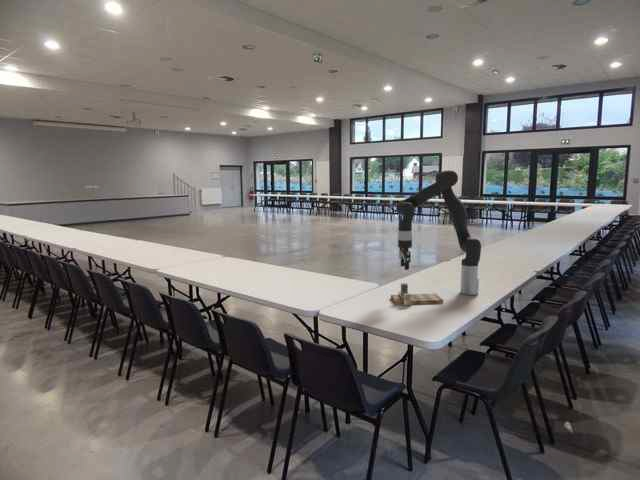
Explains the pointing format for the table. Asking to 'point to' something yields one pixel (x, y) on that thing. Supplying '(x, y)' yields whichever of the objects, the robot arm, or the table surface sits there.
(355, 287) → the table surface
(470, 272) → the robot arm
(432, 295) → the board
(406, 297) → the cream flanged bar
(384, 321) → the table surface
